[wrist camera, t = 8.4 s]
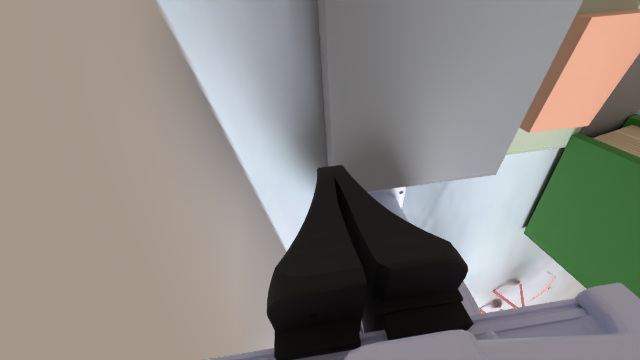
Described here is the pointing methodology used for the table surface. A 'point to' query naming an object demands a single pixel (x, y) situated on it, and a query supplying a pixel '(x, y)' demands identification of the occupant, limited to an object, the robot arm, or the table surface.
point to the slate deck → (432, 83)
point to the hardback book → (594, 209)
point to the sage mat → (552, 139)
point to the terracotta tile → (585, 70)
